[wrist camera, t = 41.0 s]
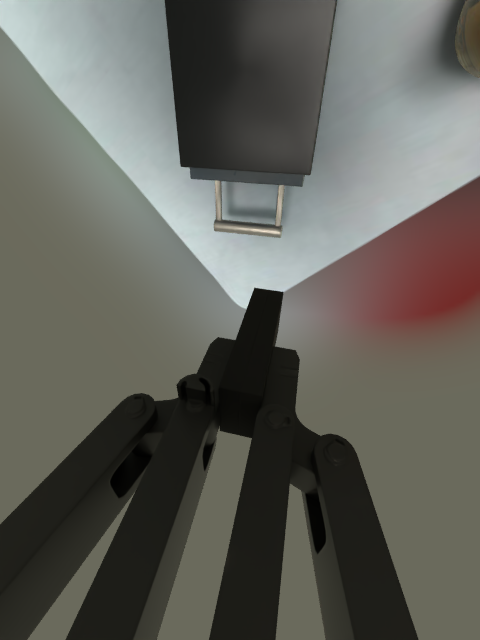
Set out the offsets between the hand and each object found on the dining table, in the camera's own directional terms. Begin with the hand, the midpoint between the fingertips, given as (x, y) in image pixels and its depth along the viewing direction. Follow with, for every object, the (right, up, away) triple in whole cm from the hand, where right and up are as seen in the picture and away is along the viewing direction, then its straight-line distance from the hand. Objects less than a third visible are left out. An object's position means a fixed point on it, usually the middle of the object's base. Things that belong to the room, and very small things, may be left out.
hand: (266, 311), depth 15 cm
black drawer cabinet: (+1, +25, +14) cm, 28 cm away
